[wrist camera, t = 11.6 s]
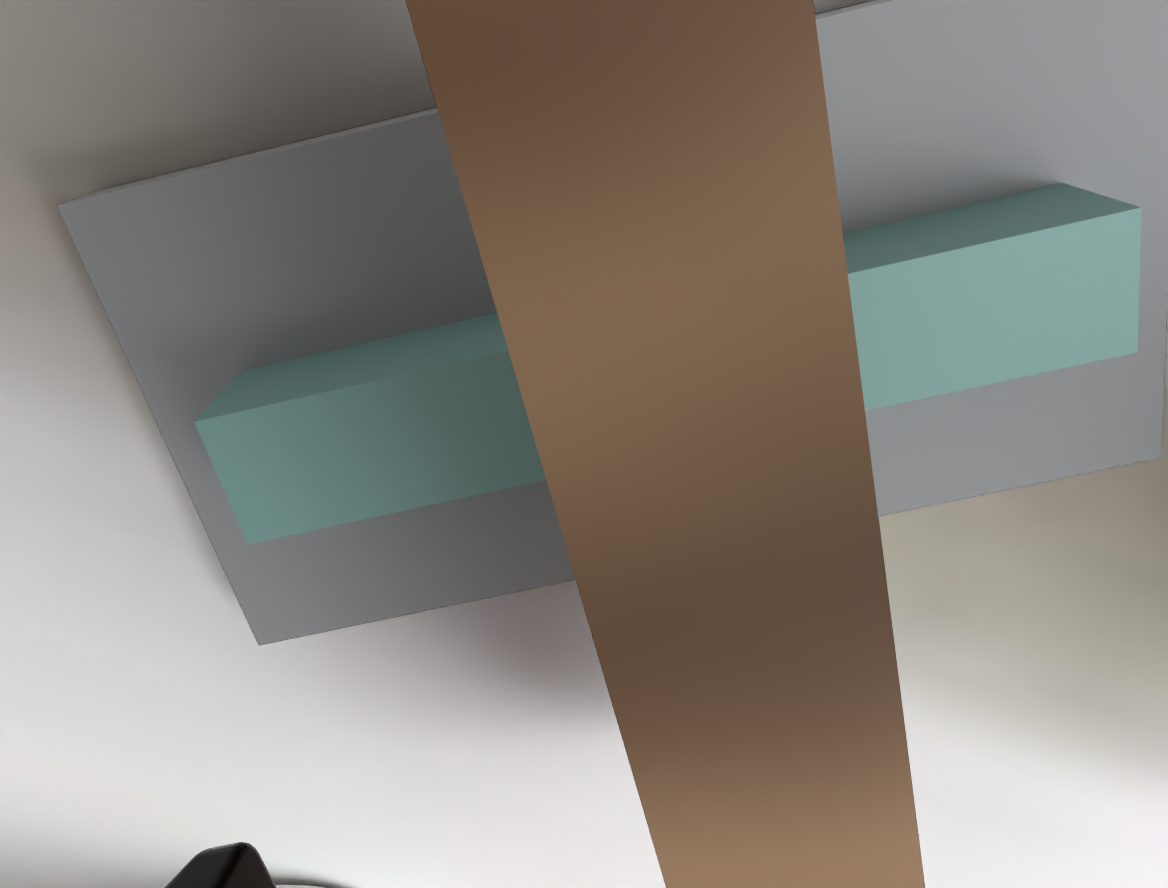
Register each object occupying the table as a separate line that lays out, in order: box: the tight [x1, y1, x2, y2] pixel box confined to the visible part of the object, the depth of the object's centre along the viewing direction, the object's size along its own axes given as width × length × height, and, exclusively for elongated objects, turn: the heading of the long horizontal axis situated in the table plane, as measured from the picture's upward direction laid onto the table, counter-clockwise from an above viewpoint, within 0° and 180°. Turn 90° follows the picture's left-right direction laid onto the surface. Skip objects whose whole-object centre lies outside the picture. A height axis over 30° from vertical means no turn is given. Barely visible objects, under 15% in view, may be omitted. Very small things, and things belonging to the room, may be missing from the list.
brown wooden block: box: [406, 0, 925, 888], centre depth 13 cm, size 22×3×7 cm, turn 14°
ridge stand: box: [57, 0, 1168, 645], centre depth 18 cm, size 20×10×4 cm, turn 103°
